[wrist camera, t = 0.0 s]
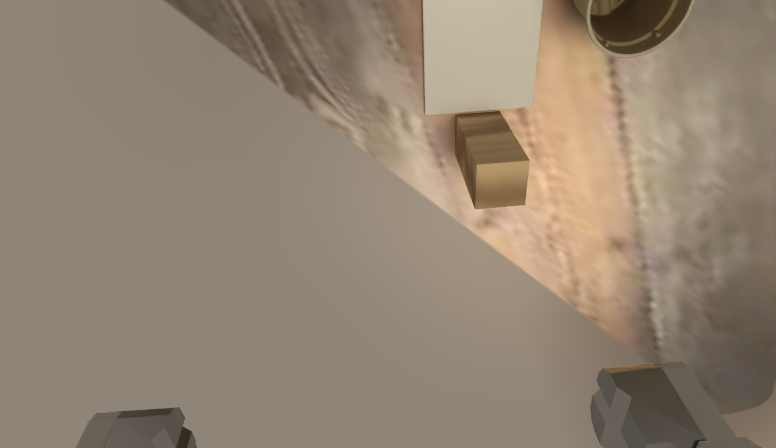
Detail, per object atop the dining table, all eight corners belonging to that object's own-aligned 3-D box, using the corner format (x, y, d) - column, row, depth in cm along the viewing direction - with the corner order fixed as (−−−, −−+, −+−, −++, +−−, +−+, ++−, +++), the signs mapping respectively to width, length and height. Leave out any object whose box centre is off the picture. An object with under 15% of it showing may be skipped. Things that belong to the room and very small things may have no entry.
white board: (421, -34, 49) (422, -33, 49) (545, -44, 49) (547, -43, 49) (424, 113, 58) (425, 115, 57) (530, 104, 58) (532, 106, 57)
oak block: (455, 114, 58) (476, 164, 48) (499, 111, 58) (529, 160, 48) (455, 156, 61) (474, 211, 51) (496, 153, 61) (524, 207, 51)
